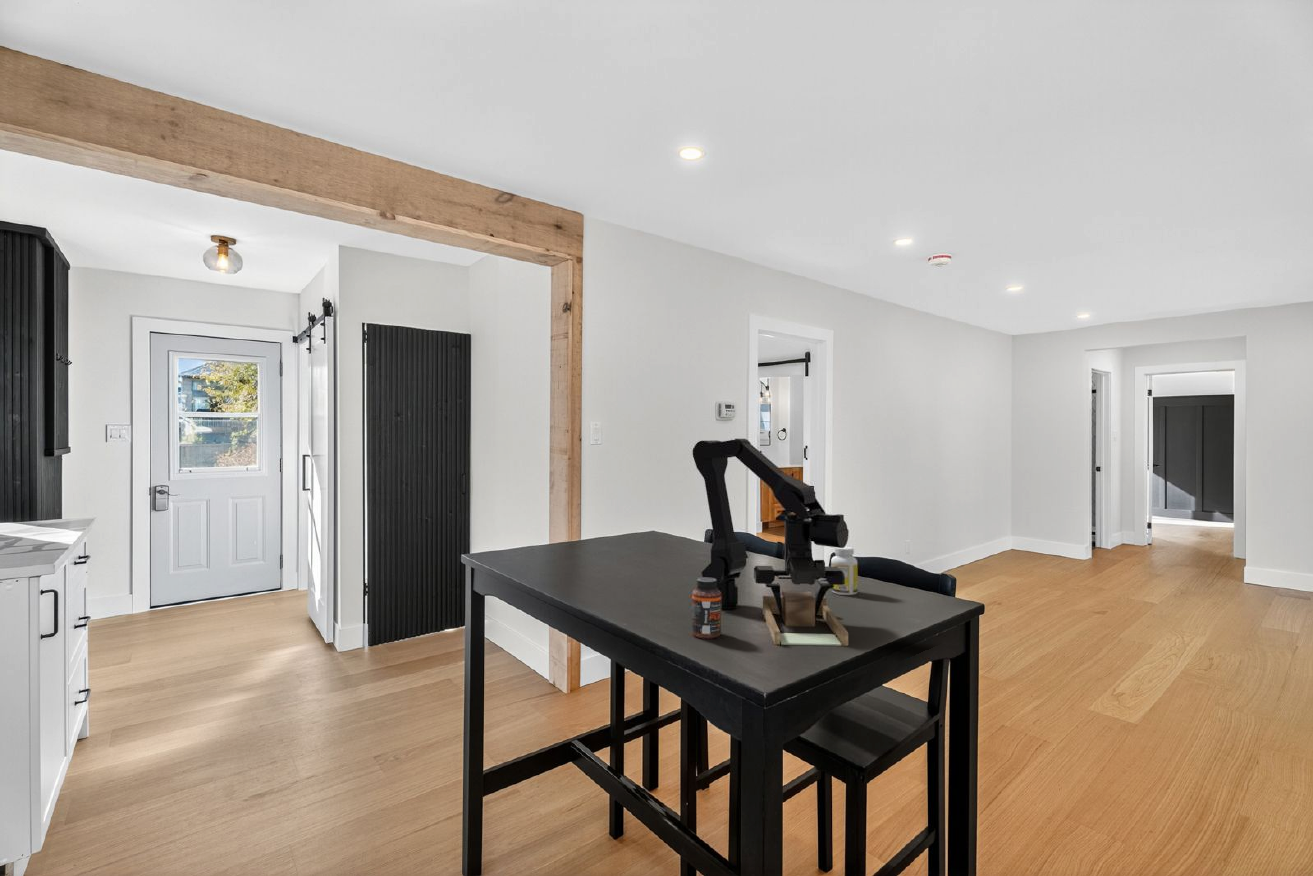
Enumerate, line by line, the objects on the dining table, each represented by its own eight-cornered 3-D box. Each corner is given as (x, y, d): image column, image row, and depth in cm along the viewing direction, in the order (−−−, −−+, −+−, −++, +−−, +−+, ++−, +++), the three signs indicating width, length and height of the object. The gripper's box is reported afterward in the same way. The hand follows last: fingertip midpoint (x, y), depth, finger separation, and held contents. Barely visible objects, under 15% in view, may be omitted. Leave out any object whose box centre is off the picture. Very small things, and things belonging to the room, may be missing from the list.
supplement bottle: (713, 641, 121) (713, 584, 121) (686, 636, 125) (686, 580, 125) (726, 633, 126) (726, 578, 126) (700, 628, 130) (700, 574, 130)
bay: (774, 644, 120) (774, 623, 120) (762, 613, 141) (762, 595, 141) (848, 645, 119) (848, 624, 119) (825, 614, 140) (825, 596, 140)
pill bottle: (854, 590, 162) (854, 545, 162) (860, 596, 156) (860, 550, 156) (829, 589, 163) (829, 545, 163) (833, 595, 156) (833, 549, 156)
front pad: (781, 644, 120) (781, 642, 120) (777, 634, 126) (777, 633, 126) (841, 645, 119) (841, 644, 119) (834, 635, 125) (834, 634, 125)
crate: (785, 626, 131) (785, 598, 131) (781, 618, 138) (781, 590, 138) (815, 627, 131) (815, 598, 131) (810, 618, 137) (810, 591, 137)
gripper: (758, 549, 127) (758, 625, 127) (851, 549, 126) (851, 626, 126) (753, 540, 138) (753, 610, 138) (838, 540, 137) (838, 611, 137)
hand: (798, 614), depth 134 cm, fingers open, 7 cm apart
